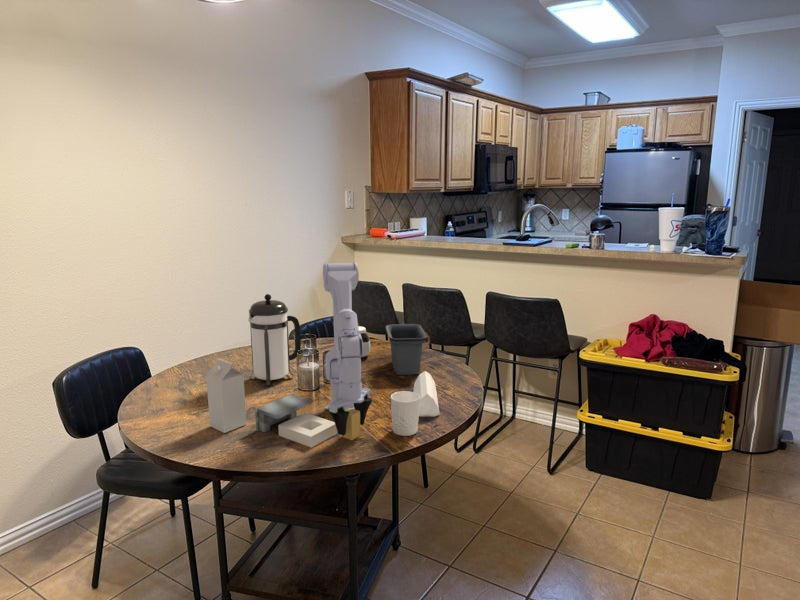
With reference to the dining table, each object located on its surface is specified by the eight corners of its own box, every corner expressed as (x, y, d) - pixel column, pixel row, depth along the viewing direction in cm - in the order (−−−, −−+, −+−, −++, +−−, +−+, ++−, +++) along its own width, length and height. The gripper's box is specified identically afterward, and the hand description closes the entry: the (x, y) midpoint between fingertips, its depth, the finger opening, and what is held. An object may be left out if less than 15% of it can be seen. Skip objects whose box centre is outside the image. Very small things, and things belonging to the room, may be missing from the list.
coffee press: (291, 387, 180) (288, 298, 174) (244, 386, 180) (238, 298, 174) (302, 369, 197) (299, 288, 191) (258, 369, 197) (254, 288, 191)
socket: (305, 422, 153) (305, 412, 152) (337, 433, 146) (337, 423, 145) (278, 435, 145) (278, 425, 144) (311, 447, 138) (310, 436, 137)
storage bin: (384, 359, 209) (384, 323, 206) (424, 358, 210) (424, 322, 207) (389, 378, 188) (389, 339, 185) (433, 376, 190) (434, 337, 187)
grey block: (291, 414, 158) (290, 393, 157) (313, 421, 153) (312, 400, 152) (256, 430, 148) (254, 407, 146) (278, 439, 143) (277, 415, 141)
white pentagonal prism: (446, 407, 154) (441, 378, 178) (425, 395, 154) (422, 367, 177) (433, 427, 156) (430, 396, 179) (412, 416, 155) (411, 385, 179)
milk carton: (232, 418, 155) (227, 355, 151) (246, 425, 151) (242, 360, 147) (209, 426, 150) (204, 361, 146) (224, 433, 146) (219, 366, 142)
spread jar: (370, 354, 216) (369, 325, 213) (370, 363, 205) (370, 333, 202) (339, 354, 215) (339, 326, 212) (338, 363, 204) (337, 333, 201)
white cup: (418, 424, 152) (418, 390, 150) (420, 437, 144) (420, 401, 142) (390, 424, 151) (390, 391, 149) (391, 437, 144) (391, 402, 142)
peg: (350, 432, 147) (349, 407, 145) (360, 435, 145) (360, 410, 143) (341, 436, 144) (341, 412, 143) (351, 440, 142) (351, 415, 141)
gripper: (343, 392, 133) (344, 443, 136) (379, 375, 145) (379, 423, 148) (322, 386, 137) (323, 435, 140) (358, 370, 149) (359, 416, 151)
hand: (351, 428), depth 144 cm, fingers open, 7 cm apart
